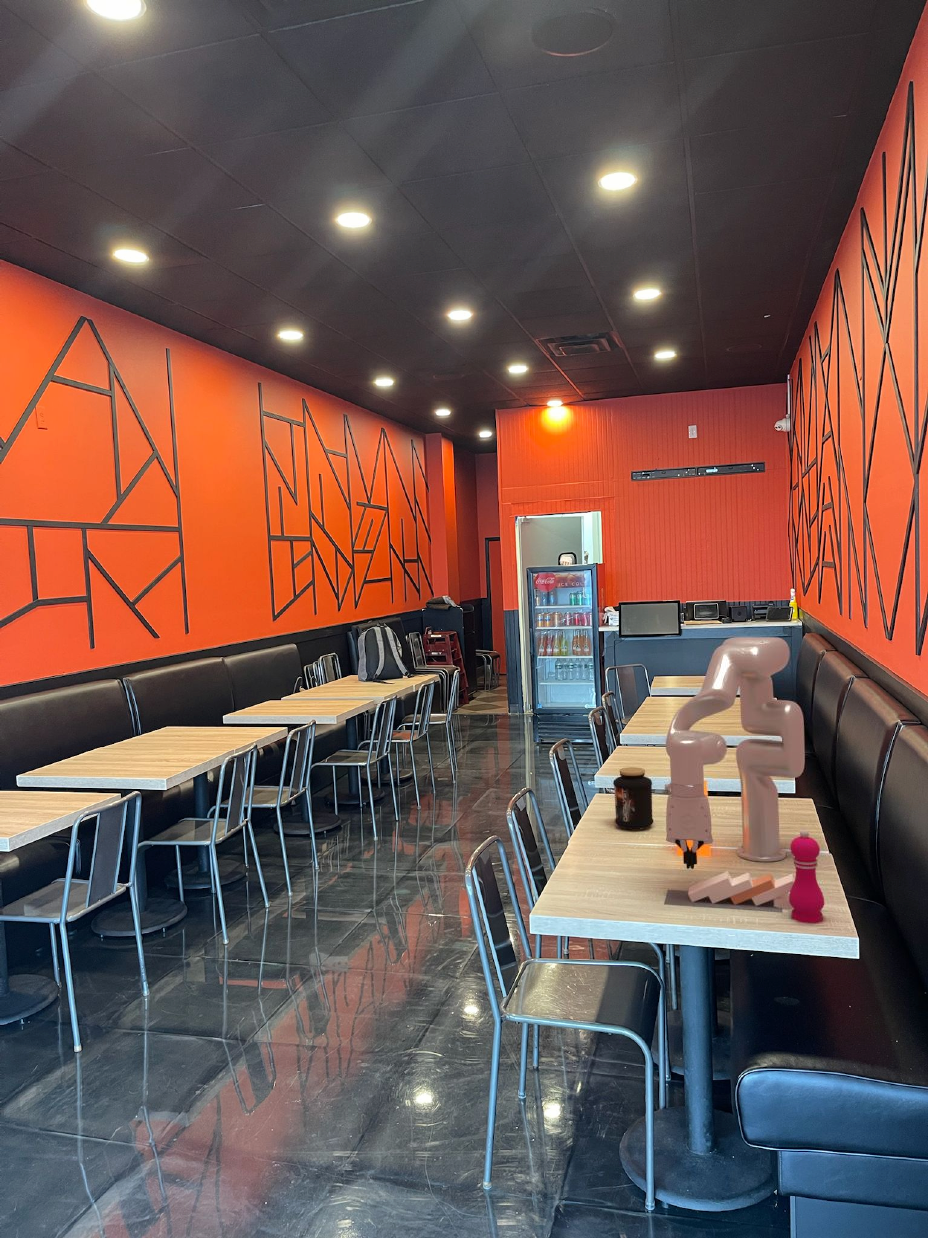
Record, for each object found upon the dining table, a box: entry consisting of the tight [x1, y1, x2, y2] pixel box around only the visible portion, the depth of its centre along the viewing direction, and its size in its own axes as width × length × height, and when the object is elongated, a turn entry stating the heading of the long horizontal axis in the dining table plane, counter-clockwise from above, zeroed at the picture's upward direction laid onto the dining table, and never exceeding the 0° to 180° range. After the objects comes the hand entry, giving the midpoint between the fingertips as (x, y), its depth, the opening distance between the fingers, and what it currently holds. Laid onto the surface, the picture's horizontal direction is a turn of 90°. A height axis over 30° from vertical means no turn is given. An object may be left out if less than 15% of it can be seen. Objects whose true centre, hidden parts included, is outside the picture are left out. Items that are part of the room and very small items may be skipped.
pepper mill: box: [789, 829, 825, 924], centre depth 191 cm, size 7×7×20 cm
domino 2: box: [709, 872, 754, 904], centre depth 203 cm, size 2×5×10 cm
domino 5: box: [773, 892, 823, 912], centre depth 198 cm, size 2×5×10 cm
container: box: [612, 766, 654, 831], centre depth 269 cm, size 12×12×18 cm
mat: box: [663, 889, 784, 913], centre depth 203 cm, size 10×26×1 cm, turn 72°
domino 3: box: [730, 872, 776, 905], centre depth 201 cm, size 2×5×10 cm
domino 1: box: [688, 871, 733, 902], centre depth 204 cm, size 2×5×10 cm
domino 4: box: [752, 873, 795, 906], centre depth 200 cm, size 2×5×10 cm
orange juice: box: [676, 780, 711, 857], centre depth 242 cm, size 8×9×20 cm
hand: (690, 867), depth 205 cm, fingers closed
